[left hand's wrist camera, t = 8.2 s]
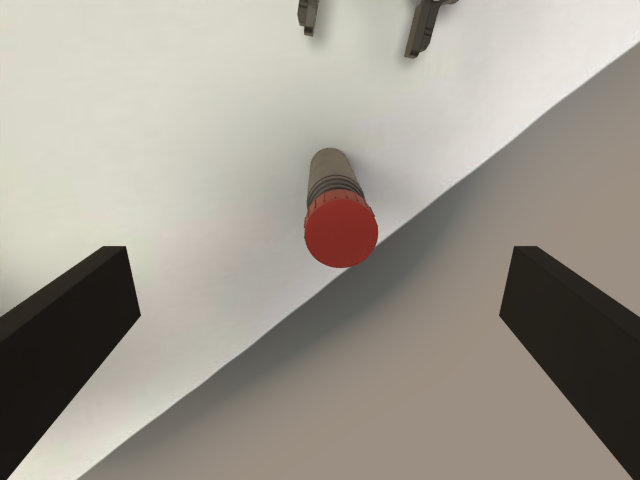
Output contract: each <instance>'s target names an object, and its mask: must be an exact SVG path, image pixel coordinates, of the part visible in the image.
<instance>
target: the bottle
mask: <svg viewBox="0 0 640 480" xmlns="http://www.w3.org/2000/svg"><path fill="white" fill-rule="evenodd" d="M333 189H335V190H337V189H343V190H344V189H346V190H348V191H352V192H354V193H355V192H356V193H357V194H358V195H359V196H361V197H362V198H363V199H365V198H364V194H363V191H362V189H361V187H360V185H359V183H358V181H357V179H356V177H355V175H354V172H353V170H352V168H351V166H350V164H349V162H348V160H347V158H346V156H345V155H344V154H343V153H342V152H341V151H339V150H337V149H334V148H325V149H322V150H320V151H319V152H317V153H316V154H315V155H314V157H313V159H312V161H311V165H310V175H309V185H308V195H307V209H308V207H310V205H311V204H312V203H313V201H314V199H316V198H317V197H319V196H320V195H322V194H323V193H325V192H328V191H331V190H333Z"/></svg>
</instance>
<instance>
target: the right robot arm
mask: <svg viewBox="0 0 640 480" xmlns="http://www.w3.org/2000/svg"><path fill="white" fill-rule="evenodd" d="M420 1H421V3H420V4H419V5H418V6H417V7H416V10H415V14H414V18H413V22H412V26H411V30H410V34H409V38H408V42H407V47H406V51H405V57H407V58H412V59H413V58H416V57H417V56H418V54H419V52H422V51H424V50H426V48H427V47H428V45H429V43H430V39H431V35H432V32H433V28H434V24H435V21H436V17H437V13H438V9H439V7H440V5H444V4H454V3H456V2H457V1H458V0H420ZM318 2H319V0H299V7H298V20H299V24H300V26H305V27H304V34H305V35H307V36H312V37H313V33H314V27H315V21H316V14H317V8H318Z"/></svg>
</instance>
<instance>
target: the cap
mask: <svg viewBox="0 0 640 480" xmlns="http://www.w3.org/2000/svg"><path fill="white" fill-rule="evenodd" d="M374 217H375V215H374V213H373V211H372V209H371V207H369V206H368V204H367V203H366V201H365V199H363V198H362V197H361V196H359V195H358V194H357V193H356V192H355V193H354V192H352V191H348V190H346V189H344V190H343V189H337V190H335V189H333V190H331V191H328V192H325V193H323V194H322V195H320V196H319V197H317V198H316V199H314V201H313V203H312V204H311V205H310V207H308V212H307V215H306V217H305V223H304V228H305V235H304V239H305V242H306V245H307V248H308V250H309V251H310V253H311V254H312V255H313V257H314V258H315V259H317V260H318V261H319V262H321V263H323V264H325V265H327V266H330V267H335V268H346V267H351V266H354V265H356V264H358V263H360V262H362V261H363V260H365V259H366V258H367V257H368V256H369V255H370V254H371V252H372V251H373V249H374V247H375V245H376V243H377V239H378V225H377V223H376V220H375V218H374Z"/></svg>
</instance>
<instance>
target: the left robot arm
mask: <svg viewBox="0 0 640 480" xmlns="http://www.w3.org/2000/svg"><path fill="white" fill-rule="evenodd" d="M140 316H141V314H140V309H139V304H138V300H137V295H136V291H135V286H134V281H133V277H132V272H131V268H130V263H129V258H128V254H127V249H126V246H103V247H101V248H100V249H98V250H97V251H95V252H94V253H93V254H91V255H90V256H88V257H87V258H85V259H84V260H82V261H81V262H80V263H78V264H77V265H75V266H74V267H72V268H71V269H69V270H68V271H67V272H65V273H64V274H62V275H61V276H59V277H58V278H56V279H55V280H53V281H52V282H51V283H49V284H48V285H46V286H45V287H43V288H42V289H40V290H39V291H38V292H36V293H35V294H33V295H32V296H30V297H29V298H27V299H26V300H24V301H23V302H22V303H20V304H19V305H17V306H16V307H14V308H13V309H11V310H10V311H9V312H7V313H6V314H4V315H3V316H1V317H0V480H7V479H8V478H9V476H10V475H11V474H12V473H13V471H14V470H15V469H16V468H17V467H18V465H19V464H20V463H21V462H22V460H23V459H24V458H25V457H26V456H27V454H28V453H29V452H30V451H31V449H32V448H33V447H34V446H35V445H36V443H37V442H38V441H39V440H40V438H41V437H42V436H43V435H44V434H45V432H46V431H47V430H48V429H49V427H50V426H51V425H52V424H53V423H54V421H55V420H56V419H57V418H58V416H59V415H60V414H61V413H62V411H63V410H64V409H65V408H66V407H67V405H68V404H69V403H70V402H71V400H72V399H73V398H74V397H75V396H76V394H77V393H78V392H79V391H80V389H81V388H82V387H83V386H84V385H85V383H86V382H87V381H88V380H89V378H90V377H91V376H92V375H93V374H94V372H95V371H96V370H97V369H98V367H99V366H100V365H101V364H102V363H103V361H104V360H105V359H106V358H107V356H108V355H109V354H110V353H111V352H112V350H113V349H114V348H115V347H116V345H117V344H118V343H119V342H120V341H121V339H122V338H123V337H124V336H125V334H126V333H127V332H128V331H129V330H130V328H131V327H132V326H133V325H134V323H135V322H136V321H137V320H138V319H139V317H140ZM499 316H500V317H501V318H502V320H503V321H504V322H505V323H506V325H507V326H508V327H509V328H510V330H511V331H512V332H513V333H514V334H515V336H516V337H517V338H518V339H519V341H520V342H521V343H522V344H523V345H524V347H525V348H526V349H527V350H528V352H529V353H530V354H531V355H532V356H533V358H534V359H535V360H536V361H537V363H538V364H539V365H540V366H541V367H542V369H543V370H544V371H545V372H546V374H547V375H548V376H549V377H550V378H551V380H552V381H553V382H554V383H555V385H556V386H557V387H558V388H559V389H560V391H561V392H562V393H563V394H564V396H565V397H566V398H567V399H568V400H569V402H570V403H571V404H572V405H573V407H574V408H575V409H576V410H577V411H578V413H579V414H580V415H581V416H582V418H583V419H584V420H585V421H586V423H587V424H588V425H589V426H590V427H591V429H592V430H593V431H594V432H595V433H596V435H597V436H598V437H599V438H600V440H601V441H602V442H603V443H604V444H605V446H606V447H607V448H608V449H609V451H610V452H611V453H612V454H613V456H614V457H615V458H616V459H617V460H618V462H619V463H620V464H621V465H622V467H623V468H624V469H625V470H626V471H627V473H628V474H629V475H630V476H631V478H632V479H633V480H640V317H639V316H637V315H636V314H634V313H633V312H631V311H630V310H629V309H627V308H626V307H624V306H623V305H621V304H620V303H618V302H617V301H615V300H614V299H613V298H611V297H610V296H608V295H607V294H605V293H604V292H602V291H601V290H600V289H598V288H597V287H595V286H594V285H592V284H591V283H589V282H588V281H587V280H585V279H584V278H582V277H581V276H579V275H578V274H576V273H575V272H573V271H572V270H571V269H569V268H568V267H566V266H565V265H563V264H562V263H560V262H559V261H558V260H556V259H555V258H553V257H552V256H550V255H549V254H547V253H546V252H545V251H543V250H542V249H540V248H539V247H537V246H514V249H513V254H512V259H511V263H510V268H509V272H508V277H507V282H506V286H505V291H504V295H503V300H502V305H501V309H500V314H499Z"/></svg>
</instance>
